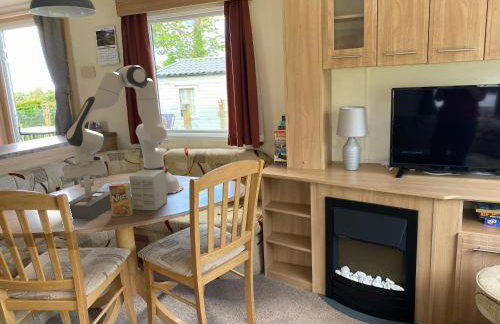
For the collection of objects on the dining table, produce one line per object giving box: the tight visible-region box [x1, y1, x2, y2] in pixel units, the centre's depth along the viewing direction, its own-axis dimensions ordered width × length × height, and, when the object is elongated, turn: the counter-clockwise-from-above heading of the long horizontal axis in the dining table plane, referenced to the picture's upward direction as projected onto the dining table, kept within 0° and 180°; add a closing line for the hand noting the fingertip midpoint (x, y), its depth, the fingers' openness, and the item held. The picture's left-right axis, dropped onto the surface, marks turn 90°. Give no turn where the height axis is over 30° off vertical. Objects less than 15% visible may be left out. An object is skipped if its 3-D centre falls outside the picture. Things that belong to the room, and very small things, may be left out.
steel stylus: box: [82, 174, 93, 200], centre depth 189 cm, size 3×3×12 cm
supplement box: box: [128, 169, 168, 211], centre depth 195 cm, size 13×13×18 cm
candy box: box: [108, 182, 134, 217], centre depth 184 cm, size 9×4×15 cm, turn 89°
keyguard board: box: [68, 190, 111, 221], centre depth 192 cm, size 14×22×7 cm, turn 171°
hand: (87, 185), depth 189 cm, fingers closed on steel stylus, 3 cm apart
